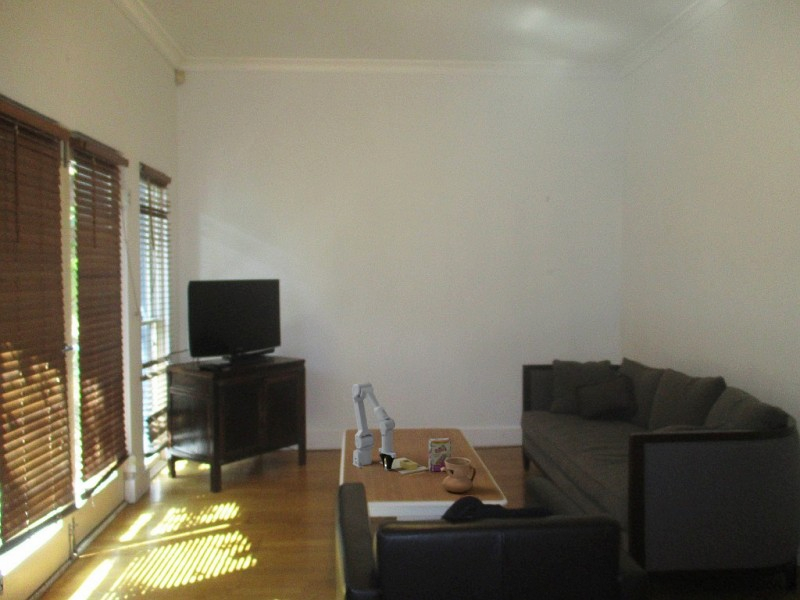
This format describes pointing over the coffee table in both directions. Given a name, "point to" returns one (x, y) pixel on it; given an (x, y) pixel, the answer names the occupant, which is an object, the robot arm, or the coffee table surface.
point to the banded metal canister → (385, 465)
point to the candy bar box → (438, 453)
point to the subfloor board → (397, 467)
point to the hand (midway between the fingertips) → (387, 468)
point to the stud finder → (408, 465)
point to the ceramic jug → (458, 475)
